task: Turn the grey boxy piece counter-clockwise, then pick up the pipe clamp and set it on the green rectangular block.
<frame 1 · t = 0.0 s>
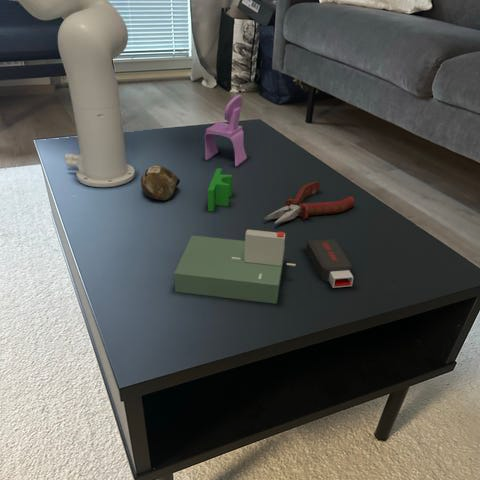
fossilized seashell: (160, 194, 106), on the table
toy chair: (225, 159, 123), on the table
pipe clamp: (220, 200, 105), on the table
green rectangular block: (231, 276, 82), on the table
usb drive: (329, 269, 85), on the table
grey boxy piece: (264, 247, 78), point 6 cm above the table, hinge at 0.0°
pliers: (301, 208, 103), on the table
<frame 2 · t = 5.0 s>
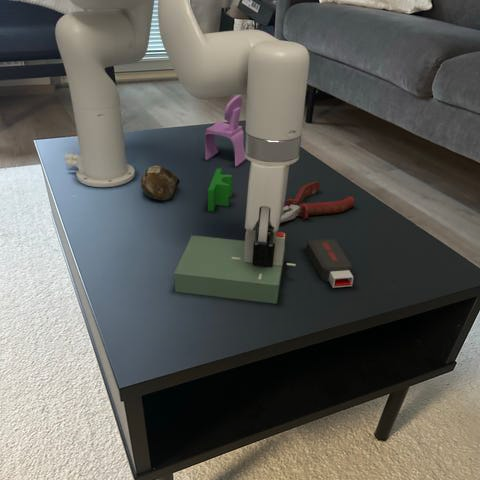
hand: (263, 260, 79), 4 cm above the table, tool pointing down, fingers closed on grey boxy piece
grey boxy piece: (264, 247, 78), point 6 cm above the table, hinge at 0.4°, touching gripper
everything else where it was.
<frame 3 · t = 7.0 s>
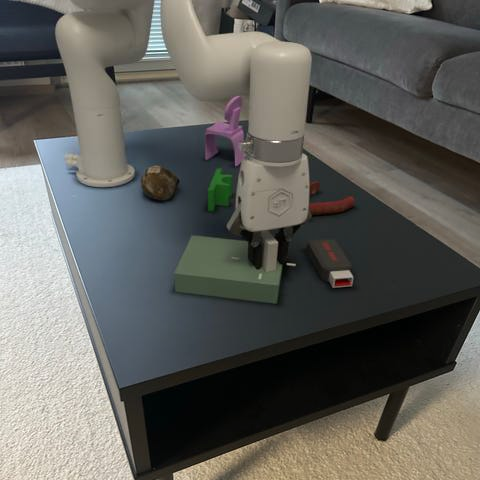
hand: (267, 261, 79), 4 cm above the table, tool pointing down, fingers open, 3 cm apart
grey boxy piece: (264, 247, 78), point 6 cm above the table, hinge at 119.8°
everything else where it was.
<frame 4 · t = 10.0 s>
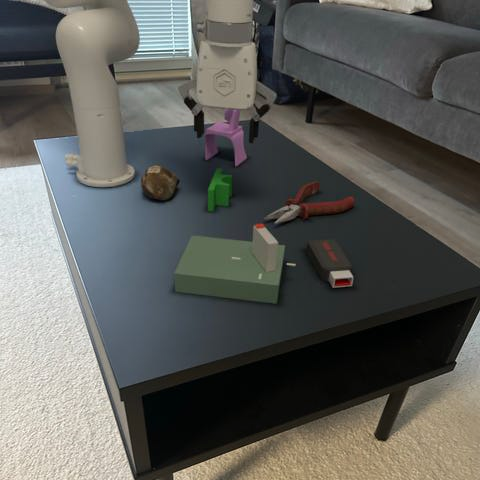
hand: (226, 138, 92), 14 cm above the table, tool pointing down, fingers open, 9 cm apart
nothing on the table moved.
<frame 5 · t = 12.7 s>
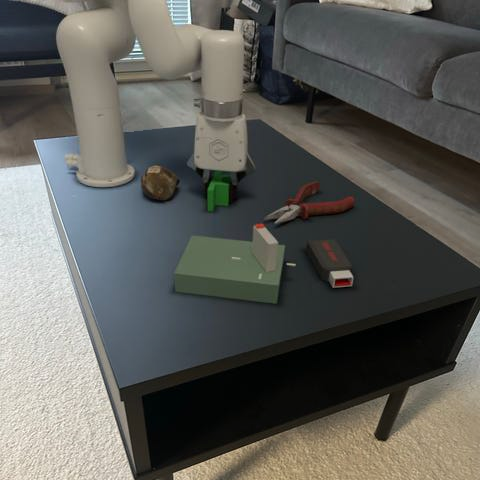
hand: (220, 198, 104), 0 cm above the table, tool pointing down, fingers closed on pipe clamp, 3 cm apart
pipe clamp: (220, 200, 105), on the table, touching gripper
everything else where it was.
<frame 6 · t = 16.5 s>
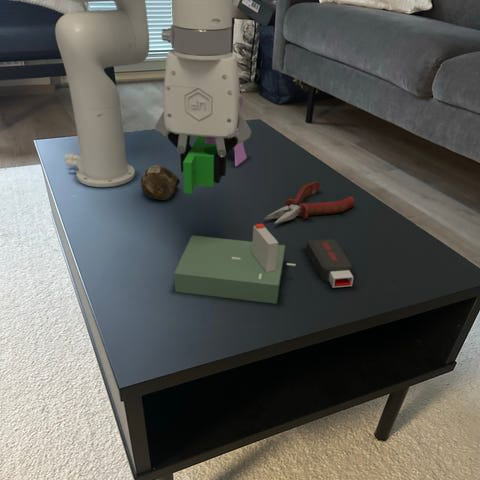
hand: (203, 177, 76), 15 cm above the table, tool pointing down, fingers closed on pipe clamp, 3 cm apart
pipe clamp: (202, 180, 76), point 15 cm above the table, touching gripper
everything else where it was.
when the fingers open (4 cm above the table, at t = 20.3 s): pipe clamp stays where it is, resting on green rectangular block.
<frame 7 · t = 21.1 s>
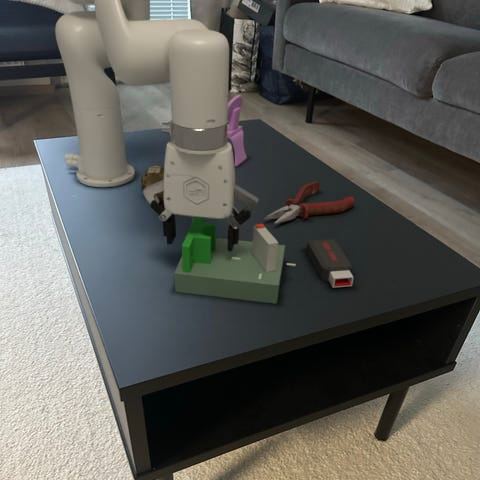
hand: (201, 243, 79), 6 cm above the table, tool pointing down, fingers open, 9 cm apart
pipe clamp: (200, 255, 80), point 3 cm above the table, touching green rectangular block
everything else where it was.
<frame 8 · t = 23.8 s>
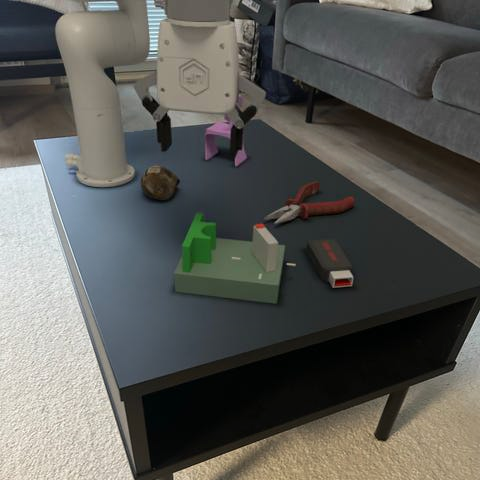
hand: (200, 151, 70), 20 cm above the table, tool pointing down, fingers open, 9 cm apart
nothing on the table moved.
at the end: grey boxy piece at +120° (first picture: +0°); pipe clamp inside the target area on the green rectangular block (1.5 cm from its centre), point 3.3 cm above the green rectangular block's base; the gripper is holding nothing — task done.
